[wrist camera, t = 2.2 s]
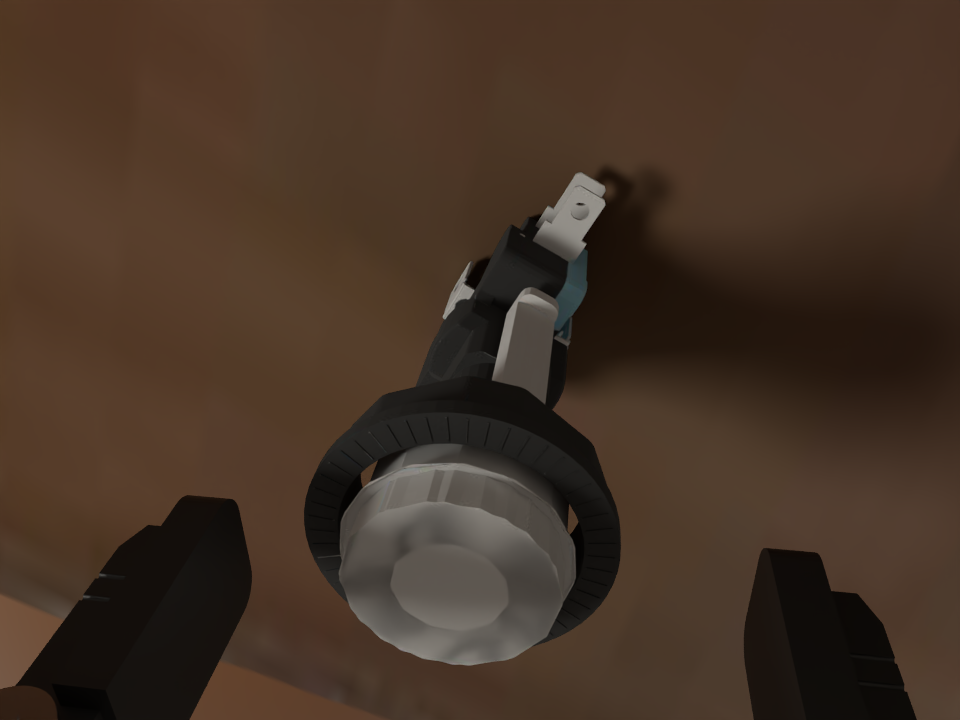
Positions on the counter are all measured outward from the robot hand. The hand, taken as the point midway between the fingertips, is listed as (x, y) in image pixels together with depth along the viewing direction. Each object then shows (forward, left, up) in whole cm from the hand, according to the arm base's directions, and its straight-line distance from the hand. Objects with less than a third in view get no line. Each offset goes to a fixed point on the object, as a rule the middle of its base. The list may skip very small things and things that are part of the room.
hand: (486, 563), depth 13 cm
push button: (0, 0, -10) cm, 10 cm away
